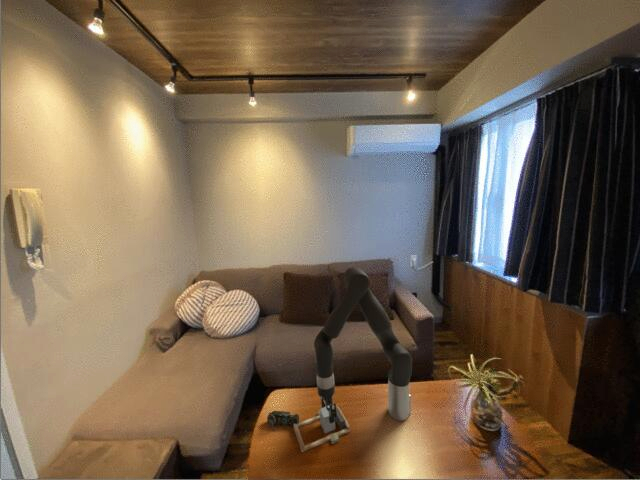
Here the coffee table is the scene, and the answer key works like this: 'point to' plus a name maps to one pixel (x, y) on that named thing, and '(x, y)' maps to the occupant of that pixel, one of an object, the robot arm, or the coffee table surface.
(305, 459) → the coffee table surface
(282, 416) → the stun grenade
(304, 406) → the coffee table surface
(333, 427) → the grey rectangular block
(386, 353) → the robot arm
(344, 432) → the beam frame
